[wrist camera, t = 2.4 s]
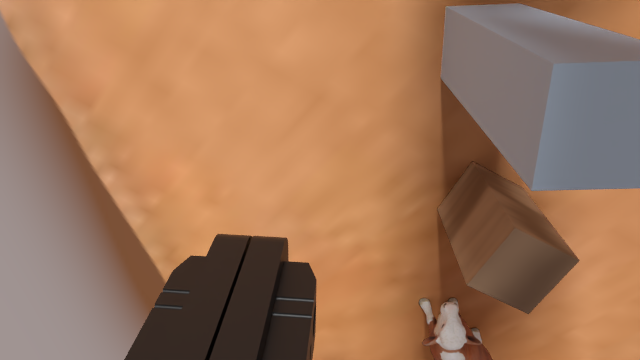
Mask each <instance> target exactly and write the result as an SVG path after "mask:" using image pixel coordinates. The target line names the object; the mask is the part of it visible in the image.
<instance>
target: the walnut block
mask: <svg viewBox="0 0 640 360" xmlns="http://www.w3.org/2000/svg"><path fill="white" fill-rule="evenodd" d="M437 210H438V213H439V215H440V218H441V220H442V223H443V226H444V228H445V231H446V233H447V236H448V238H449V241H450V244H451V246H452V249H453V251H454V254H455V256H456V259H457V261H458V264H459V267H460V269H461V272H462V274H463V277H464V279H465V282H466V285H467V286H469V287H471V288H474V289H476V290H478V291H480V292H482V293H484V294H486V295H489V296H491V297H493V298H495V299H497V300H499V301H502V302H504V303H506V304H508V305H510V306H512V307H514V308H517V309H519V310H521V311H523V312H525V313H527V314H529V313H530V312H531V311H532V310H533V309H534V308H535V307H536V306H537V305H538V304H539V303H540V302H541V300H542V299H543V298H544V297H545V296H546V295H547V294H548V293H549V292H550V291H551V290H552V289H553V288H554V287H555V286H556V285H557V284H558V283H559V282H560V281H561V279H562V278H563V277H564V276H565V275H566V274H567V273H568V272H569V271H570V270H571V269H572V268H573V267H574V266H575V265H576V264H577V263H578V262H579V261H580V260H579V259H578V258H577V257H576V255H575V254H574V253H573V251H572V250H571V249H570V248H569V246H568V245H567V244H566V242H565V241H564V240H563V239H562V237H561V236H560V235H559V233H558V232H557V231H556V230H555V228H554V227H553V226H552V224H551V223H550V222H549V221H548V219H547V218H546V217H545V216H544V214H543V213H542V212H541V210H540V209H539V208H538V207H537V205H536V204H535V203H534V201H533V200H532V199H531V198H530V196H529V195H528V194H527V192H526V191H525V190H524V189H523V188H522V187H520V186H519V185H517V184H515V183H513V182H511V181H509V180H507V179H505V178H503V177H501V176H499V175H498V174H496V173H494V172H492V171H490V170H488V169H486V168H484V167H482V166H480V165H479V164H477V163H475V162H473V161H472V162H471V164H470V165H469V166H468V168H467V169H466V170H465V172H464V173H463V175H462V176H461V177H460V179H459V180H458V181H457V183H456V184H455V185H454V187H453V188H452V189H451V191H450V192H449V194H448V195H447V196H446V198H445V199H444V200H443V202H442V203H441V204H440V206H439V207H438V208H437Z"/></svg>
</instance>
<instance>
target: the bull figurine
mask: <svg viewBox="0 0 640 360" xmlns="http://www.w3.org/2000/svg"><path fill="white" fill-rule="evenodd" d="M419 305H420V306H421V307H422V309H423V310H424V312H425V314H426V316H427V323H428V325H429V337H428V338H426V339H425V340H424V341H423V343H422V344H423V345H425V346H430V350H431V353H432V355H433V357H434V359H435V360H492V358H491V356H490V354H489V352H488V351H487V349H486V348H485V347H484V346H483V345H482V339H481V337H480V332H479V330H478V329H477V328H473V329H471V330H470V328H469V327H468V326H467V324H466V322H465V321H464V320H463V319H462V318H461V315H460V314H459V313H458V312H459V308H458V301H457V299H455V298H450V299H449V300H448V302H445V303H443V304H442V305H441V314H439V315H438V320H437V321H436V319H435V317H434V316H433V314H432V308H431V304H430V301H429V299H427V298H422V299H420V300H419Z"/></svg>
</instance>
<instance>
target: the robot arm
mask: <svg viewBox="0 0 640 360" xmlns="http://www.w3.org/2000/svg"><path fill="white" fill-rule="evenodd" d="M315 324H316V278H315V276H314V273H313V271H312V269H311V267H310V265H309V263H302V262H288V240H287V238H280V237H263V236H253V237H252V236H244V235H228V234H217V235H216V237H215V239H214V241H213V243H212V245H211V247H210V249H209V251H208V254H207V256H206V257H205V256H190V257H189V258H188V259H186V260H185V261H184V262H183V263H182V264H180V265H179V266H178V267H177V268H176V269H174V270H173V272H172V273H171V275H170V277H169V279H168V281H167V283H166V284H165V286H164V288H163V293H161V294H160V295H159V297H158V299H157V301H156V303H155V307H154V308H152V310H151V312H150V314H149V316H148V318H147V319H146V321H145V323H144V325H143V326H142V328H141V330H140V332H139V334H138V336H137V338H136V339H135V341H134V343H133V345H132V347H131V348H130V350H129V352H128V354H127V356H126V358H125V359H124V360H312V358H313V349H314V340H315Z"/></svg>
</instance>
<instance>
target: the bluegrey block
mask: <svg viewBox="0 0 640 360" xmlns="http://www.w3.org/2000/svg"><path fill="white" fill-rule="evenodd" d="M441 79H442V81H443V82H444V83H445V84H446V85H447V87H448V88H449V89H450V90H451V92H452V93H453V94H454V95H455V97H456V98H457V99H458V100H459V102H460V103H461V104H462V105H463V107H464V108H465V109H466V110H467V112H468V113H469V114H470V115H471V116H472V118H473V119H474V120H475V121H476V123H477V124H478V125H479V126H480V128H481V129H482V130H483V131H484V133H485V134H486V135H487V136H488V138H489V139H490V140H491V141H492V142H493V144H494V145H495V146H496V147H497V149H498V150H499V151H500V152H501V154H502V155H503V156H504V157H505V159H506V160H507V161H508V162H509V164H510V165H511V166H512V167H513V169H514V170H515V171H516V172H517V173H518V175H519V176H520V177H521V178H522V180H523V181H524V182H525V183H526V185H527V186H528V187H529V188H530V190H531V191H543V190H586V189H629V188H640V40H639V39H636V38H632V37H629V36H626V35H623V34H619V33H616V32H613V31H609V30H606V29H603V28H599V27H596V26H593V25H589V24H586V23H583V22H579V21H576V20H573V19H570V18H566V17H563V16H560V15H556V14H553V13H550V12H546V11H543V10H540V9H536V8H533V7H530V6H526V5H523V4H520V3H515V4H490V5H465V6H446V8H445V22H444V36H443V50H442V64H441Z"/></svg>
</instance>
